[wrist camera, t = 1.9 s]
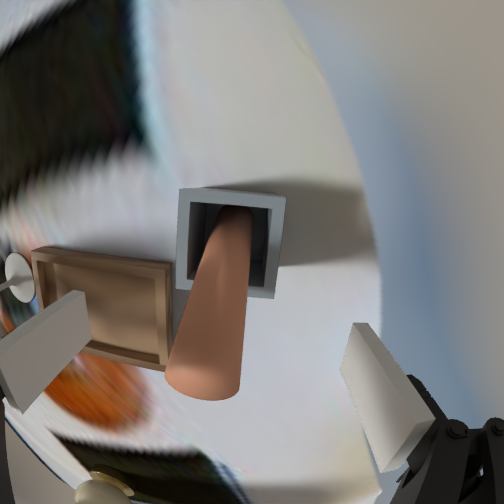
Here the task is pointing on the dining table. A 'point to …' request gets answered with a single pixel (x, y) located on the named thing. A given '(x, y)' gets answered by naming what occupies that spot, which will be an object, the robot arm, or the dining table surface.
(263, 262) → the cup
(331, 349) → the dining table surface
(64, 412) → the dining table surface
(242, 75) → the dining table surface
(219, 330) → the tan rounded bar
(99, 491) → the lamp
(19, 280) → the wineglass
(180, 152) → the dining table surface
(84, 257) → the tray
